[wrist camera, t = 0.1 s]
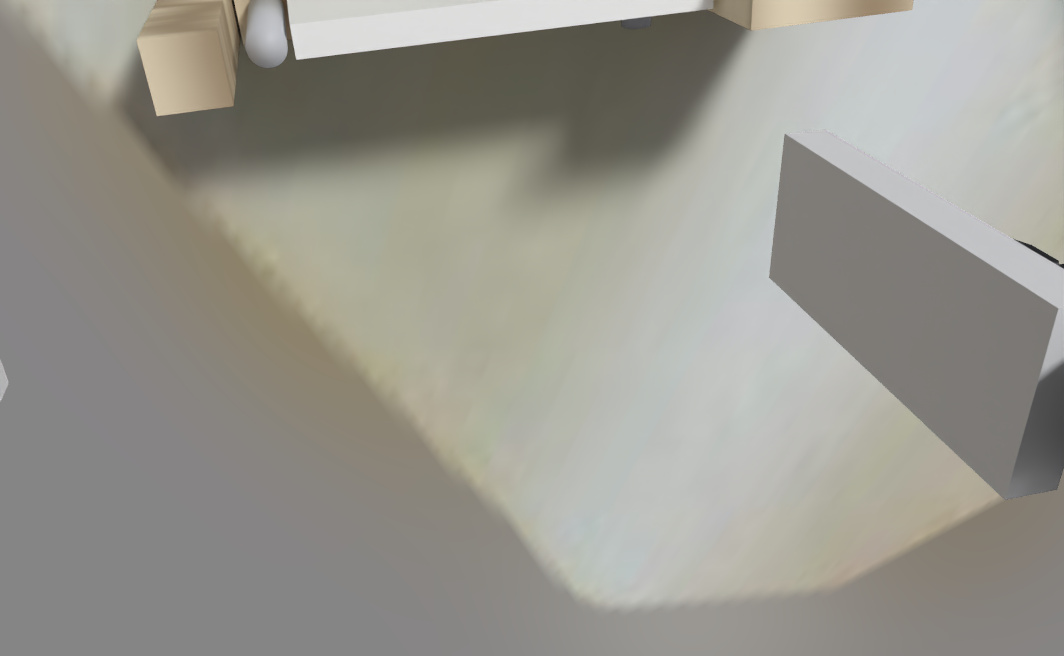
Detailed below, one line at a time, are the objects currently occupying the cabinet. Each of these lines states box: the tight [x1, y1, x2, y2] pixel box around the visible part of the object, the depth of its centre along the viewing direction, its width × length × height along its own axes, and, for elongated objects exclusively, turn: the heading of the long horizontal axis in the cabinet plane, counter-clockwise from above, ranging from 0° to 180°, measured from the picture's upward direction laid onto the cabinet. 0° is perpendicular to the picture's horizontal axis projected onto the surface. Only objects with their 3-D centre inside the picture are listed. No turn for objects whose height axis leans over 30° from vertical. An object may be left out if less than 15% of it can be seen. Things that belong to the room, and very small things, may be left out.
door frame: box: [137, 0, 913, 116], centre depth 36 cm, size 27×3×10 cm, turn 94°
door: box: [245, 0, 713, 68], centre depth 37 cm, size 17×2×7 cm, turn 94°
